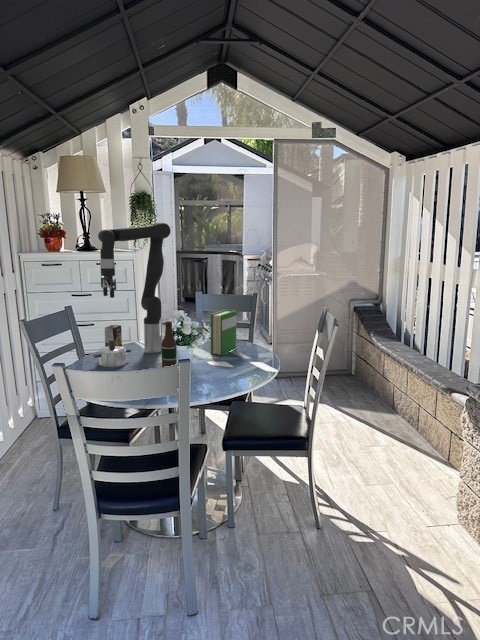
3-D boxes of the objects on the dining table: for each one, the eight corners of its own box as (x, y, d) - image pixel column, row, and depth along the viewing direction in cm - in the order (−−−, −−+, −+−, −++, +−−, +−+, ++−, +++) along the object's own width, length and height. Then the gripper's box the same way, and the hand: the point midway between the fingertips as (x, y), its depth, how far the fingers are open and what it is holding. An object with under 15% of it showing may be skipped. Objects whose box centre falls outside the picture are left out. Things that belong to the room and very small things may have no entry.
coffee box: (115, 356, 261) (114, 328, 258) (105, 355, 262) (103, 327, 259) (122, 352, 270) (121, 325, 267) (112, 351, 271) (111, 324, 268)
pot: (124, 357, 258) (124, 345, 257) (136, 363, 248) (135, 350, 247) (89, 363, 246) (88, 350, 244) (100, 369, 235) (99, 356, 234)
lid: (118, 348, 255) (118, 336, 254) (129, 353, 245) (129, 341, 243) (94, 351, 246) (94, 339, 245) (105, 357, 236) (104, 344, 235)
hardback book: (221, 356, 264) (222, 315, 259) (210, 354, 267) (210, 314, 263) (235, 349, 279) (236, 310, 275) (225, 348, 283) (225, 309, 278)
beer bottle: (179, 365, 244) (179, 321, 240) (170, 369, 238) (169, 323, 233) (168, 363, 248) (167, 319, 243) (158, 367, 241) (157, 322, 237)
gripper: (119, 267, 247) (121, 297, 250) (108, 266, 258) (109, 294, 261) (106, 268, 242) (107, 298, 246) (95, 266, 253) (97, 295, 256)
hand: (108, 296), depth 253 cm, fingers open, 8 cm apart
